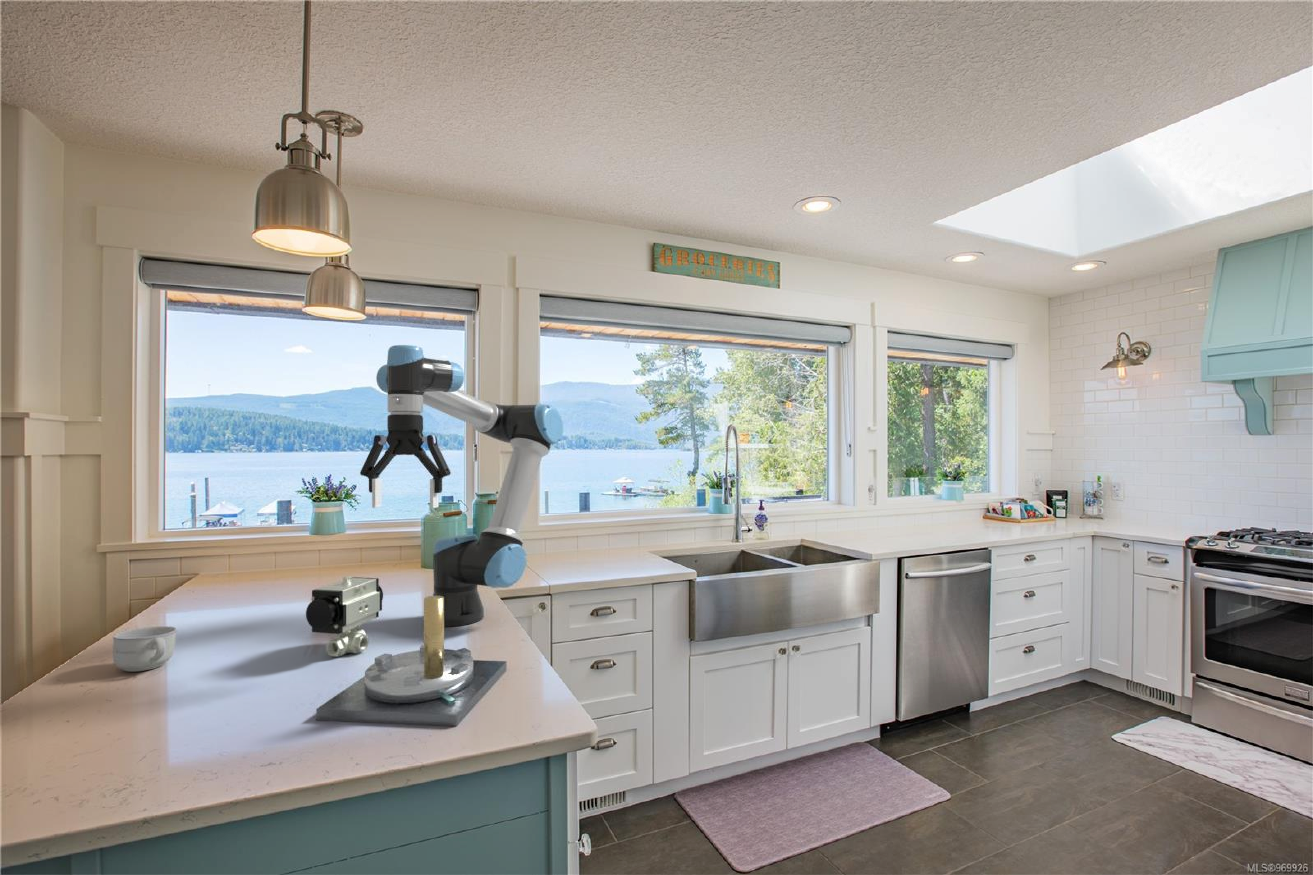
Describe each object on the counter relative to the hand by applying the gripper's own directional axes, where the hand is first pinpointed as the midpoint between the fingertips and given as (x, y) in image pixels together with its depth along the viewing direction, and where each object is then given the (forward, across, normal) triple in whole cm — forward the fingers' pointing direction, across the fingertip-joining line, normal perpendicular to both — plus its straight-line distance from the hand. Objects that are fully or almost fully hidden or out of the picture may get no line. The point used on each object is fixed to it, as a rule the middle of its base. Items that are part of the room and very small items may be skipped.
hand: (405, 507), depth 140 cm
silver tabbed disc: (+32, +12, -17) cm, 39 cm away
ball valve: (+35, -16, +4) cm, 39 cm away
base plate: (+35, +12, -17) cm, 40 cm away
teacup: (+35, -54, -10) cm, 65 cm away
